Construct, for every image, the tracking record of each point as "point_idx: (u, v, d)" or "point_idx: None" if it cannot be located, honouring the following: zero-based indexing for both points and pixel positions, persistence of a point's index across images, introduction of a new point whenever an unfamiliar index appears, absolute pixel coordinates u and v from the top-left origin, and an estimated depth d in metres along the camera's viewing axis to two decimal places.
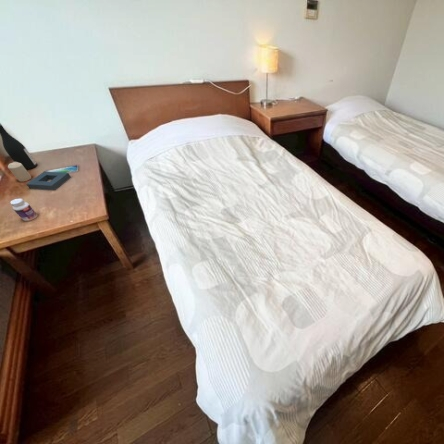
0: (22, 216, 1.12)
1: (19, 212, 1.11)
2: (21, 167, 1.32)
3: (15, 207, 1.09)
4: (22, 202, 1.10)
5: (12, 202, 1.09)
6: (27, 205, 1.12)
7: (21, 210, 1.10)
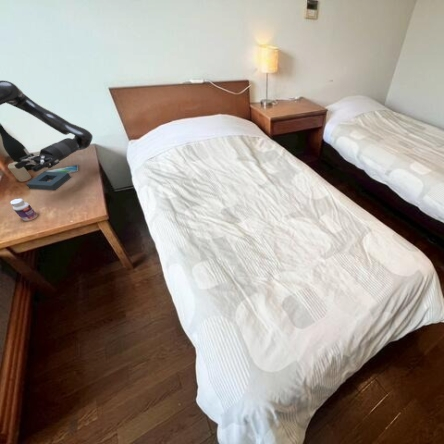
0: (22, 216, 1.12)
1: (19, 212, 1.11)
2: None
3: (15, 207, 1.09)
4: (22, 202, 1.10)
5: (12, 202, 1.09)
6: (27, 205, 1.12)
7: (21, 210, 1.10)
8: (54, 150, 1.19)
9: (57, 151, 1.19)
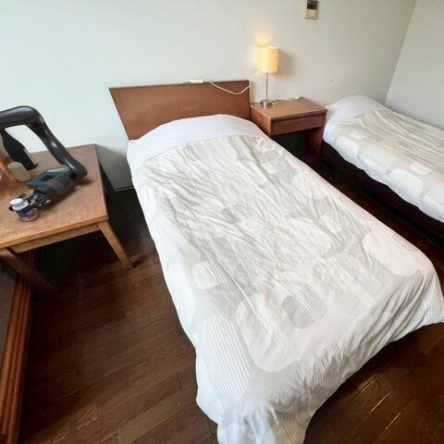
0: (22, 216, 1.12)
1: (19, 212, 1.11)
2: (21, 167, 1.32)
3: (15, 207, 1.09)
4: (22, 202, 1.10)
5: (12, 202, 1.09)
6: None
7: None
8: (47, 189, 1.19)
9: (51, 189, 1.20)
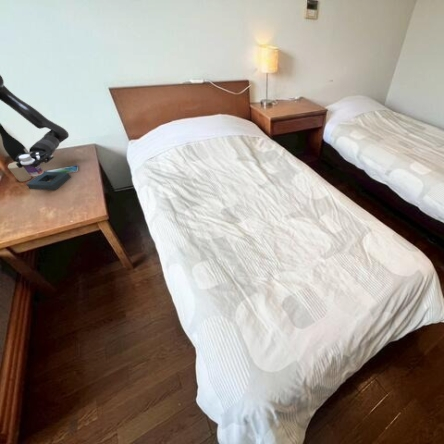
0: (32, 171, 1.19)
1: (29, 167, 1.18)
2: None
3: (25, 162, 1.16)
4: (30, 156, 1.18)
5: (21, 157, 1.15)
6: (34, 160, 1.19)
7: (31, 164, 1.18)
8: (44, 146, 1.26)
9: (47, 147, 1.27)
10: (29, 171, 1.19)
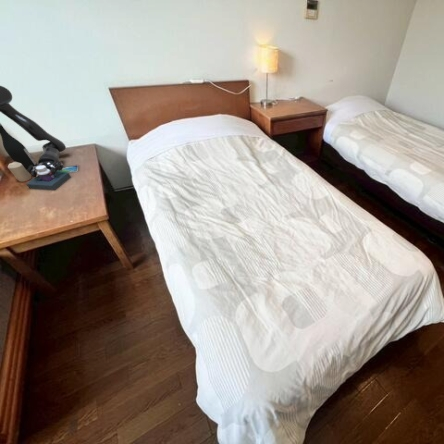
0: (49, 180, 1.33)
1: (46, 176, 1.31)
2: (21, 167, 1.32)
3: (42, 172, 1.30)
4: None
5: (38, 168, 1.29)
6: (49, 170, 1.33)
7: (48, 174, 1.31)
8: (51, 157, 1.38)
9: (53, 157, 1.40)
10: (46, 180, 1.32)
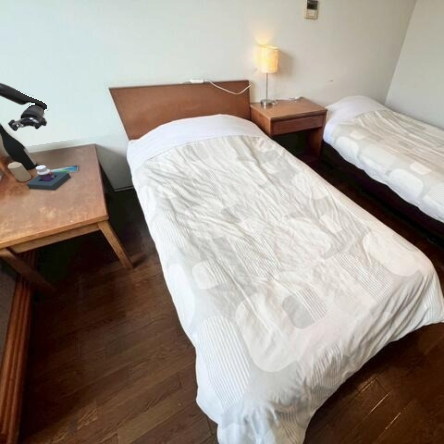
0: (49, 180, 1.33)
1: (46, 176, 1.31)
2: (21, 167, 1.32)
3: (42, 172, 1.30)
4: None
5: (38, 168, 1.29)
6: (49, 170, 1.33)
7: (48, 173, 1.31)
8: (34, 113, 1.34)
9: (37, 114, 1.35)
10: (46, 180, 1.32)
